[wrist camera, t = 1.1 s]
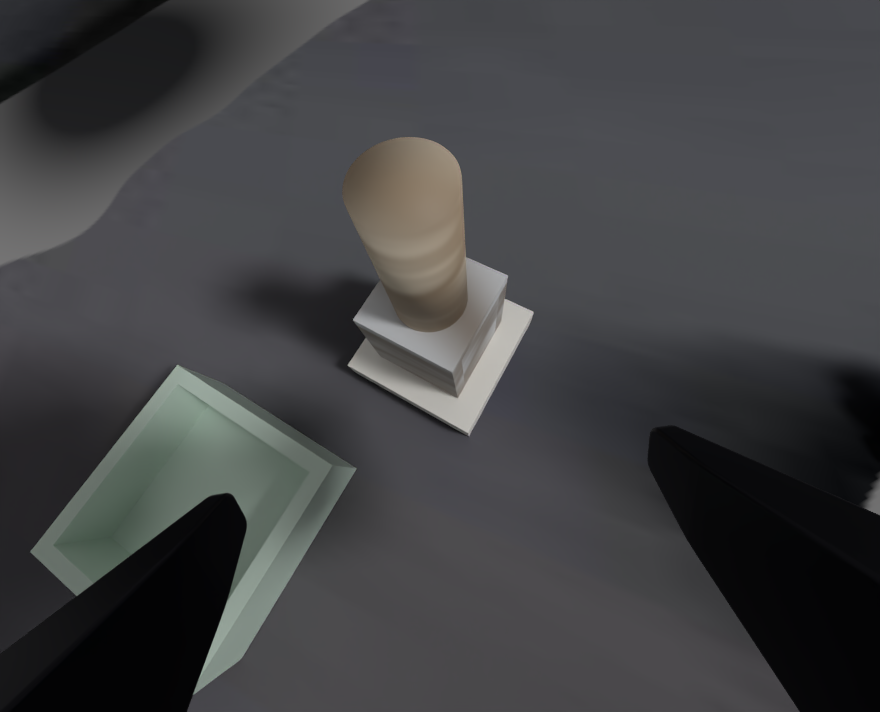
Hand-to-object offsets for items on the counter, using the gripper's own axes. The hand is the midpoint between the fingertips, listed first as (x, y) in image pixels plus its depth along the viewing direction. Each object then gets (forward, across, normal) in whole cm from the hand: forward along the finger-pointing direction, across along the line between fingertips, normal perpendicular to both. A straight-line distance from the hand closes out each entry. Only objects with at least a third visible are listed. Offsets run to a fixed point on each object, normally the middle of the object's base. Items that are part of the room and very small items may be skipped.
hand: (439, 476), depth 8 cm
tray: (+10, +13, +9) cm, 19 cm away
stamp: (+14, 0, +3) cm, 14 cm away
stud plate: (+15, 0, +4) cm, 16 cm away
